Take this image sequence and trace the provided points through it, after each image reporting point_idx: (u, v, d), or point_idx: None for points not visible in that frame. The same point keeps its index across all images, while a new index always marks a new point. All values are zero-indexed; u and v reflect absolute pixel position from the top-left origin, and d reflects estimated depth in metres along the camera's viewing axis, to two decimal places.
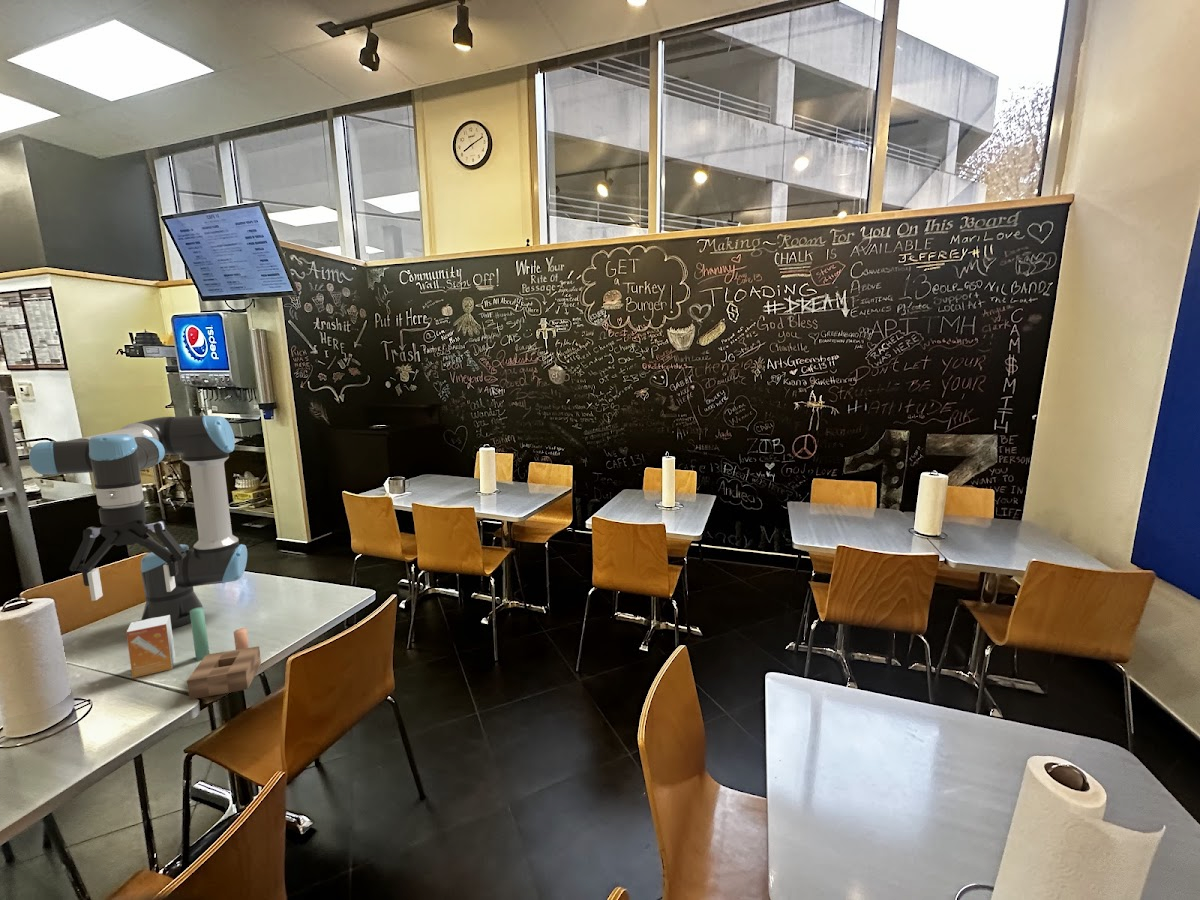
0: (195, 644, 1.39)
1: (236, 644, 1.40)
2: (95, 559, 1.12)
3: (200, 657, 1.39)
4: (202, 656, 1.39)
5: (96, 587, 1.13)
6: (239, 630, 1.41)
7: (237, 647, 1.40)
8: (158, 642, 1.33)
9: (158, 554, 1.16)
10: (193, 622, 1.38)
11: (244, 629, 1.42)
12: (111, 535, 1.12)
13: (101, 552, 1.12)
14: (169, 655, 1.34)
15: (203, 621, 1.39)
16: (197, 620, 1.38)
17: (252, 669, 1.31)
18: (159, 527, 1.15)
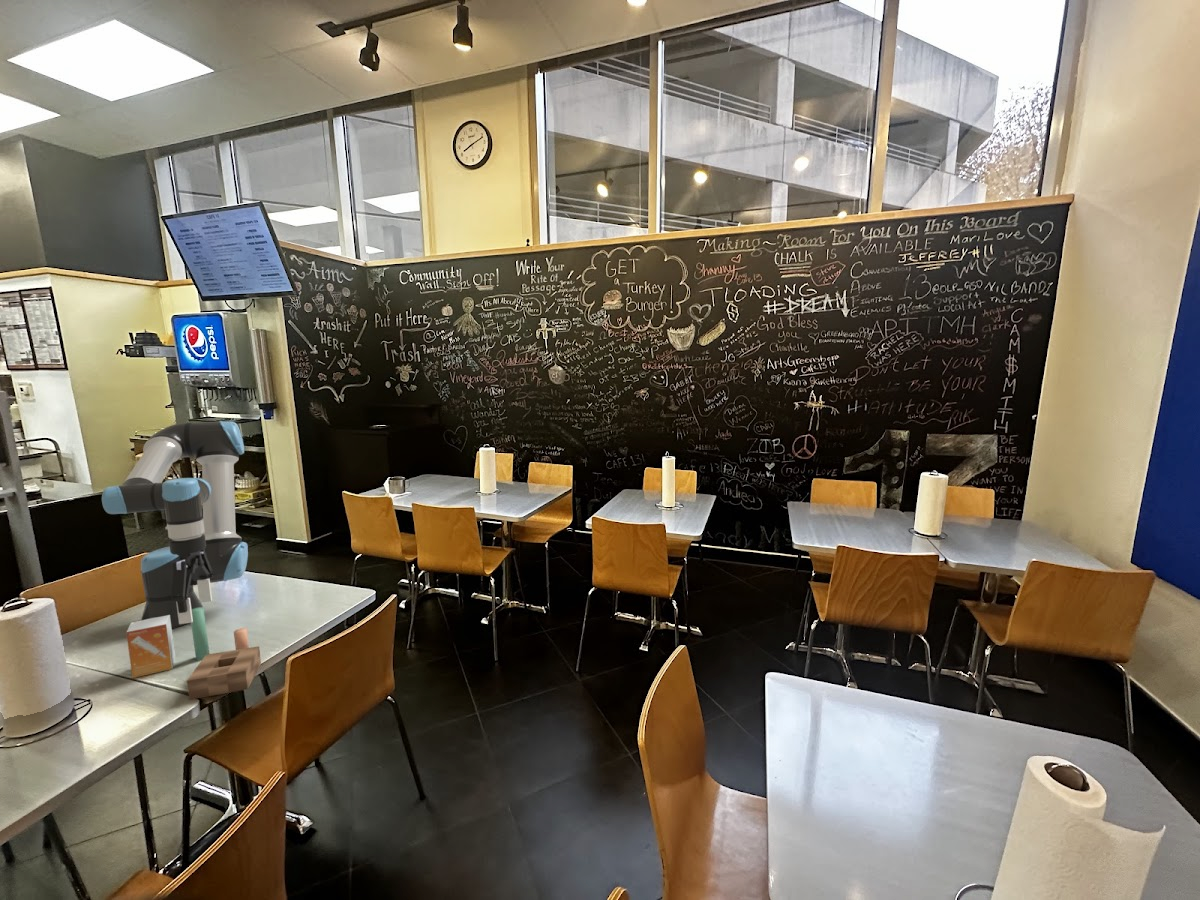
0: (195, 644, 1.39)
1: (236, 644, 1.40)
2: None
3: (200, 657, 1.39)
4: (202, 656, 1.39)
5: (202, 593, 1.44)
6: (239, 630, 1.41)
7: (237, 647, 1.40)
8: (158, 642, 1.33)
9: None
10: (193, 622, 1.38)
11: (244, 629, 1.42)
12: None
13: None
14: (169, 655, 1.34)
15: (203, 621, 1.39)
16: (197, 620, 1.38)
17: (252, 669, 1.31)
18: None
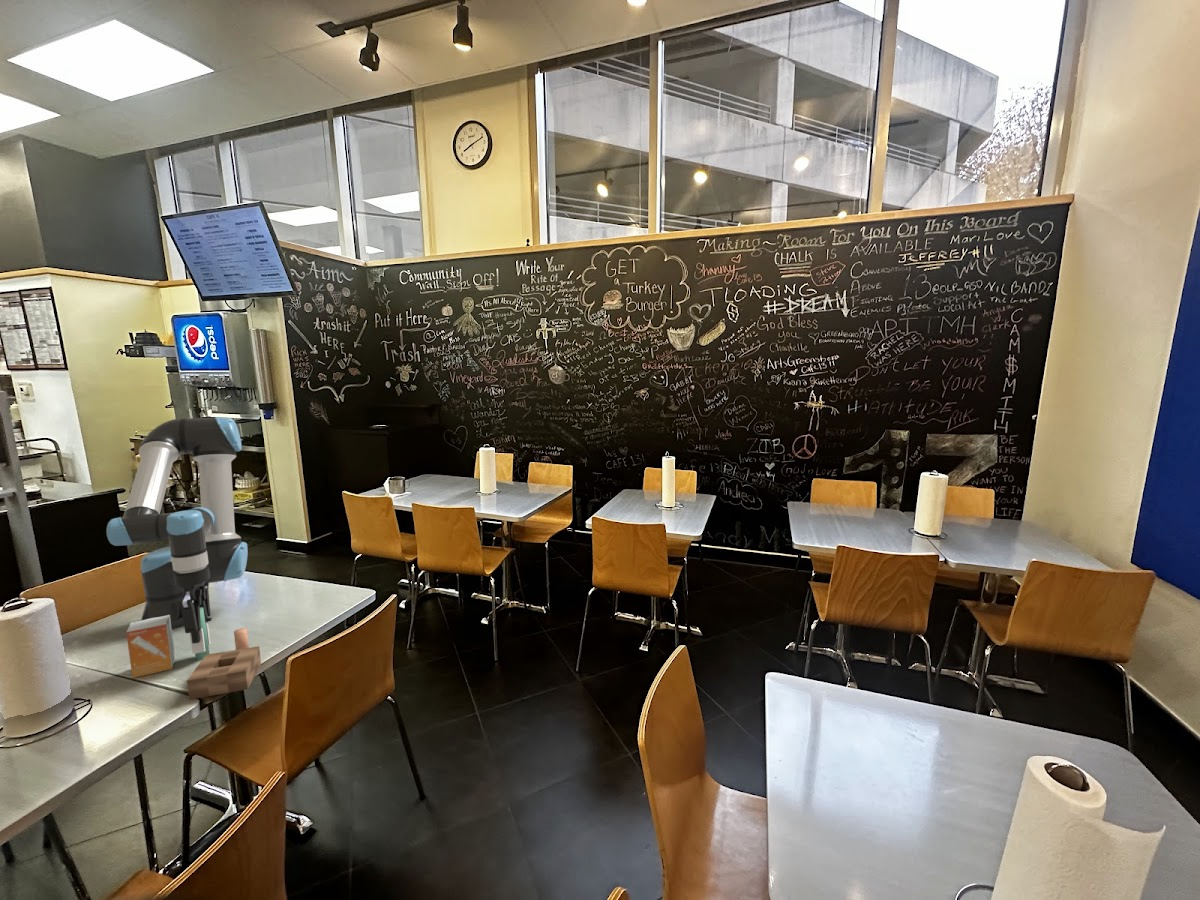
0: None
1: (236, 644, 1.40)
2: None
3: (200, 657, 1.39)
4: (202, 656, 1.39)
5: None
6: (239, 630, 1.41)
7: (237, 647, 1.40)
8: (158, 642, 1.33)
9: None
10: None
11: (244, 629, 1.42)
12: None
13: None
14: (169, 655, 1.34)
15: (203, 621, 1.39)
16: None
17: (252, 669, 1.31)
18: None
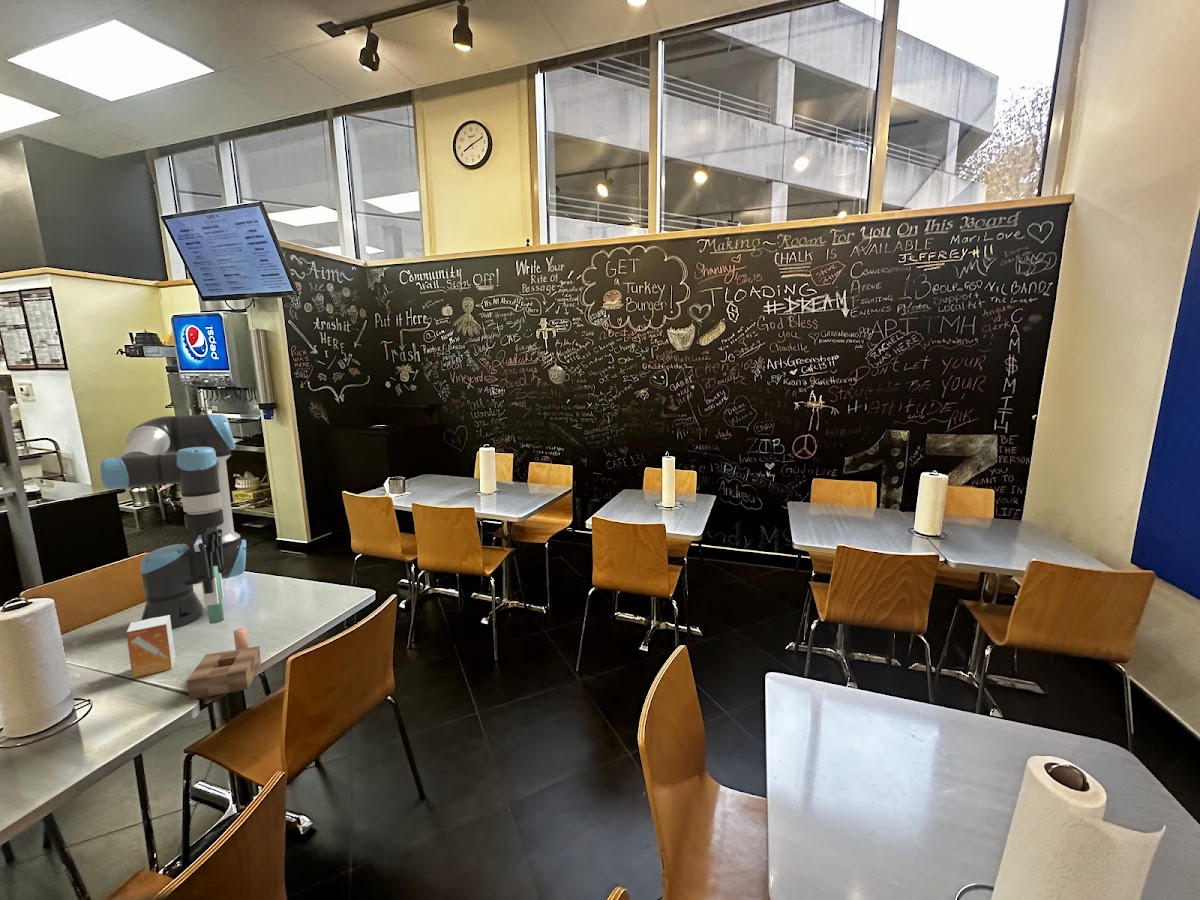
0: (208, 606, 1.26)
1: (236, 644, 1.40)
2: None
3: (214, 620, 1.27)
4: (216, 619, 1.27)
5: None
6: (239, 630, 1.42)
7: (237, 647, 1.40)
8: (158, 642, 1.33)
9: None
10: None
11: (244, 629, 1.42)
12: None
13: None
14: (169, 655, 1.34)
15: (217, 580, 1.27)
16: None
17: (252, 669, 1.31)
18: None
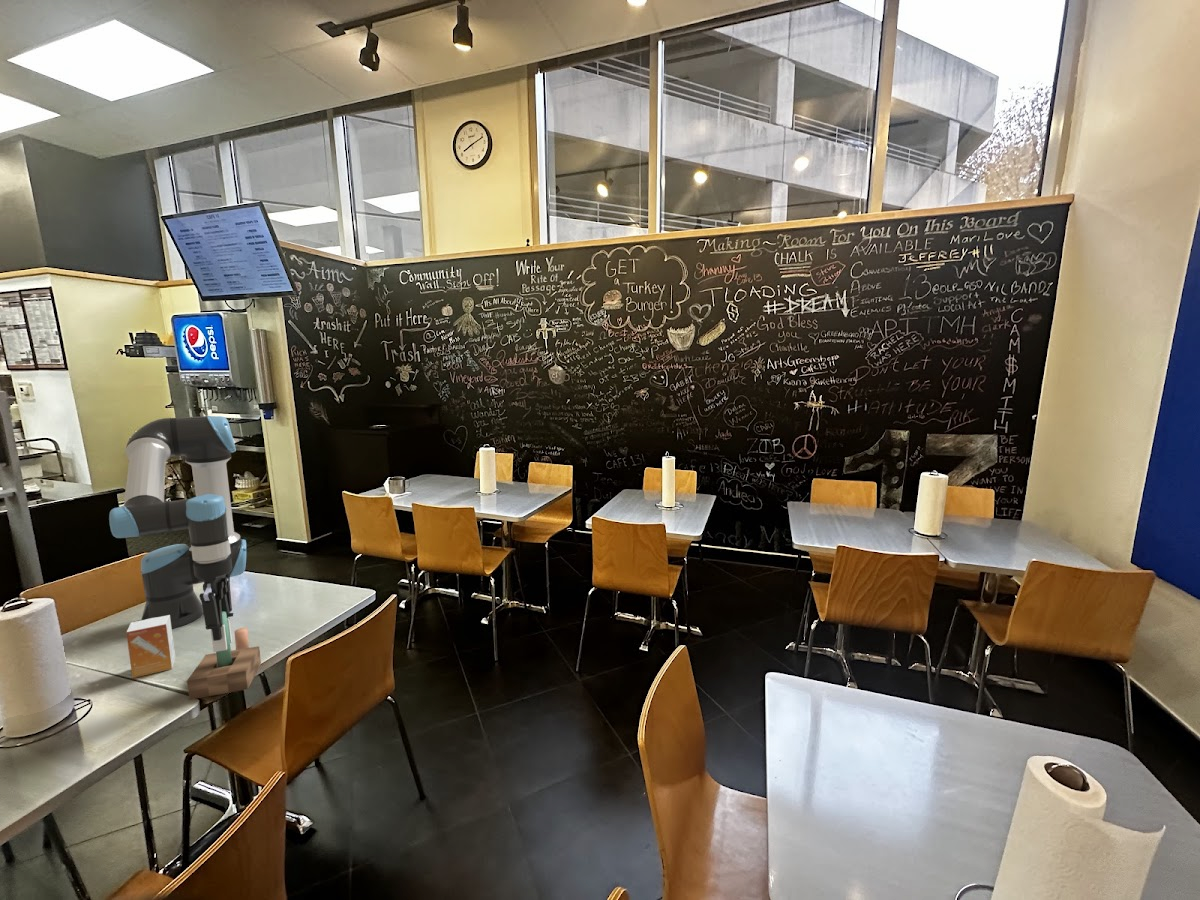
0: (217, 651, 1.27)
1: (237, 644, 1.40)
2: None
3: (222, 666, 1.28)
4: (225, 664, 1.28)
5: None
6: (240, 630, 1.42)
7: (237, 647, 1.40)
8: (158, 642, 1.33)
9: None
10: None
11: (245, 629, 1.42)
12: None
13: None
14: (169, 655, 1.34)
15: (226, 626, 1.28)
16: None
17: (252, 669, 1.31)
18: None
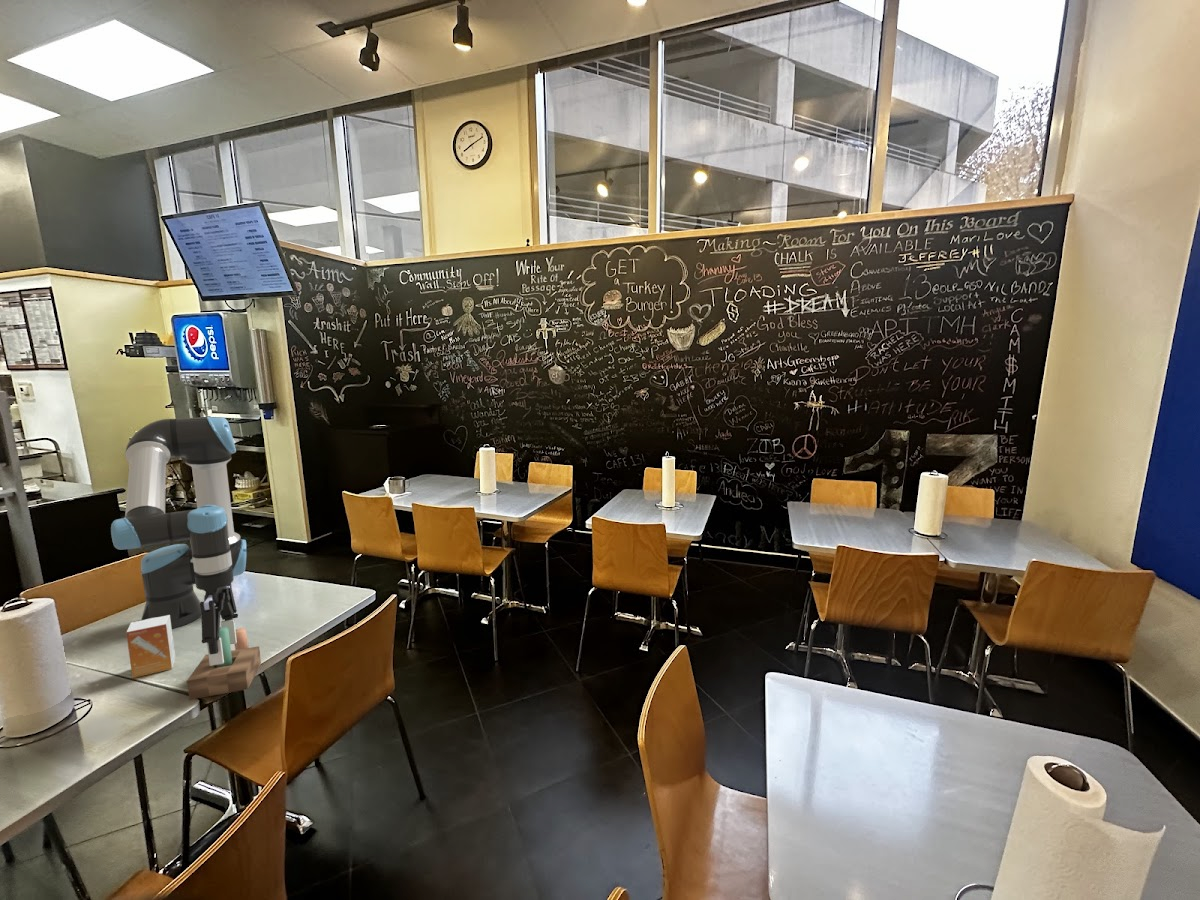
0: None
1: (236, 644, 1.40)
2: None
3: None
4: None
5: None
6: (238, 630, 1.41)
7: (237, 647, 1.40)
8: (158, 642, 1.33)
9: None
10: None
11: (243, 629, 1.42)
12: None
13: None
14: (169, 655, 1.34)
15: (228, 642, 1.29)
16: (221, 640, 1.27)
17: (252, 669, 1.31)
18: None
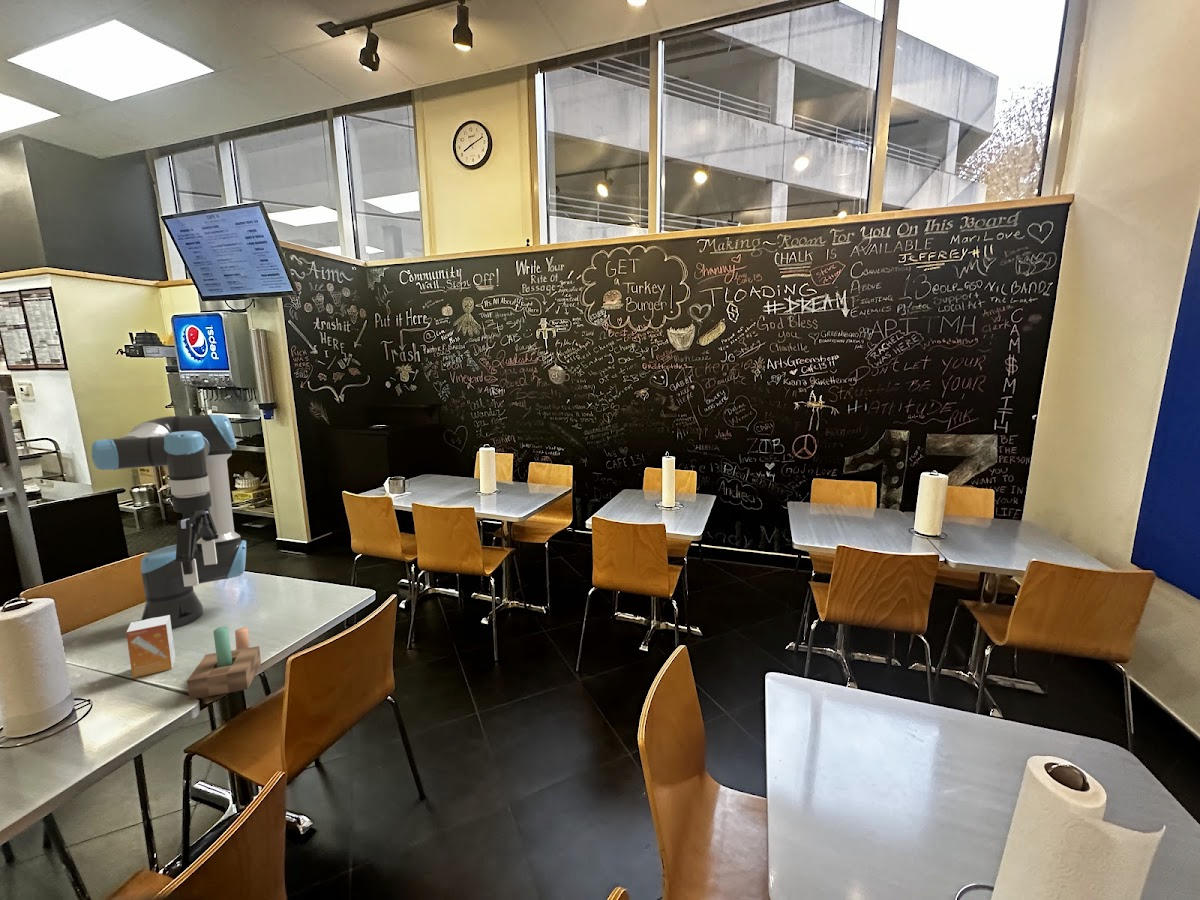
0: None
1: (238, 643, 1.40)
2: None
3: None
4: None
5: (207, 555, 1.35)
6: (240, 629, 1.42)
7: (239, 646, 1.40)
8: (158, 642, 1.33)
9: None
10: (217, 643, 1.27)
11: (245, 628, 1.42)
12: None
13: None
14: (169, 655, 1.34)
15: (228, 642, 1.29)
16: (221, 640, 1.27)
17: (252, 669, 1.31)
18: None
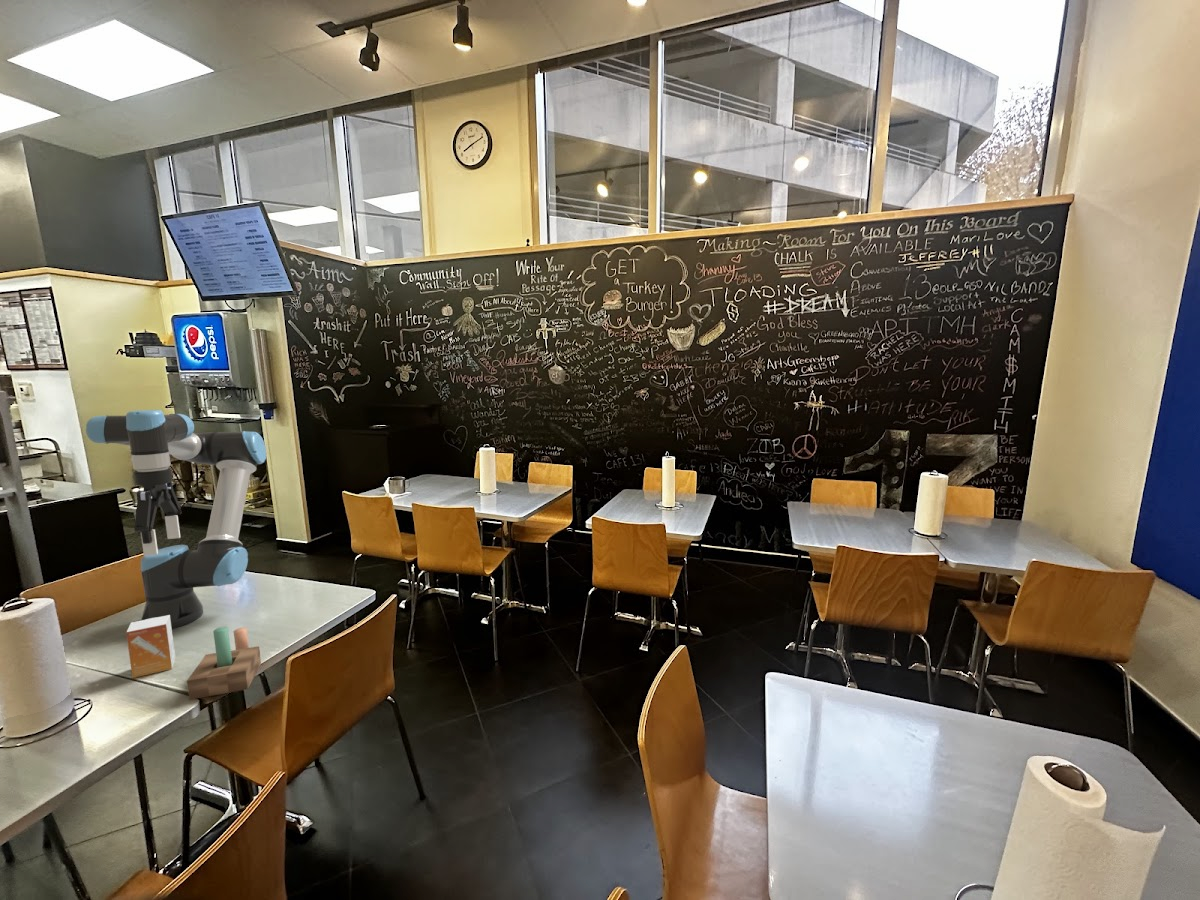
0: None
1: (237, 643, 1.40)
2: None
3: None
4: None
5: (170, 529, 1.43)
6: (238, 629, 1.42)
7: (238, 646, 1.41)
8: (158, 642, 1.33)
9: None
10: (217, 643, 1.27)
11: (243, 628, 1.42)
12: None
13: None
14: (169, 655, 1.34)
15: (228, 642, 1.29)
16: (221, 640, 1.27)
17: (252, 669, 1.31)
18: None
